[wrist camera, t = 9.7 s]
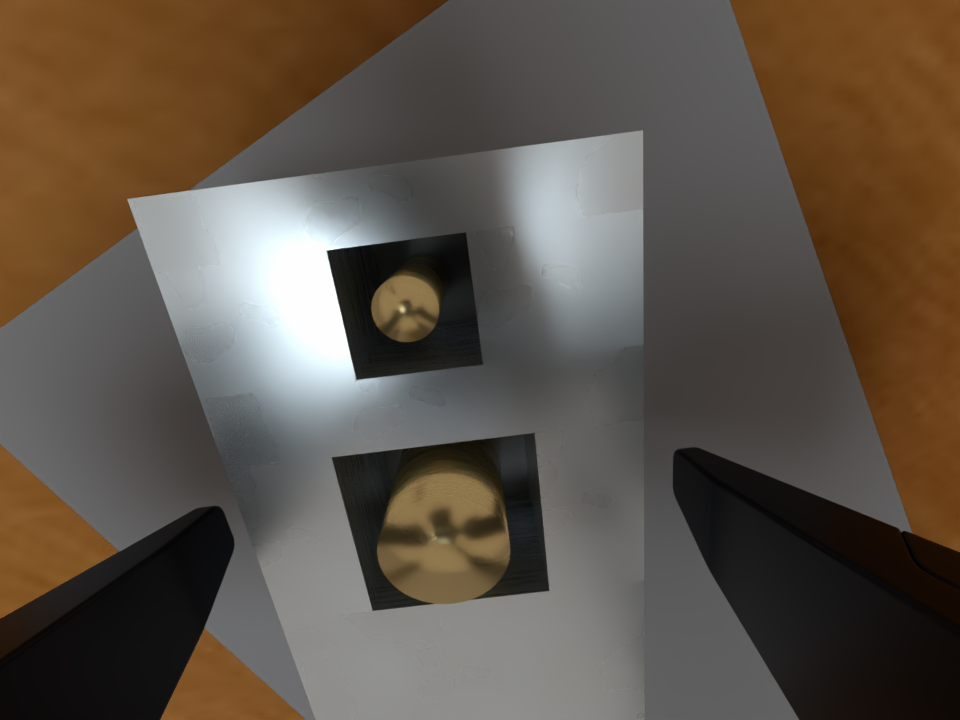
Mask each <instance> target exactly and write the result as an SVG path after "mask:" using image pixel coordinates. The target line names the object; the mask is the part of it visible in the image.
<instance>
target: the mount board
mask: <svg viewBox="0 0 960 720" xmlns="http://www.w3.org/2000/svg"><path fill="white" fill-rule="evenodd" d="M642 130H643V316H644V673H645V720H799V719H798V717H797V716H796V714H795V712H794V711H793V709H792V707H791V706H790V704H789V702H788V701H787V699H786V697H785V696H784V694H783V692H782V691H781V689H780V687H779V686H778V684H777V682H776V681H775V679H774V677H773V676H772V674H771V672H770V671H769V669H768V667H767V666H766V664H765V662H764V661H763V659H762V658H761V656H760V654H759V653H758V651H757V649H756V648H755V646H754V644H753V643H752V641H751V639H750V638H749V636H748V634H747V633H746V631H745V629H744V628H743V626H742V624H741V623H740V621H739V619H738V618H737V616H736V614H735V613H734V611H733V609H732V608H731V606H730V604H729V603H728V601H727V599H726V598H725V596H724V594H723V593H722V591H721V589H720V588H719V586H718V584H717V583H716V581H715V579H714V578H713V576H712V574H711V572H710V571H709V569H708V567H707V565H706V563H705V561H704V559H703V557H702V555H701V552H700V550H699V548H698V546H697V544H696V542H695V539H694V537H693V535H692V533H691V531H690V529H689V526H688V524H687V522H686V520H685V518H684V516H683V514H682V511H681V509H680V507H679V505H678V503H677V501H676V498H675V496H674V492H673V455H674V452H675V451H676V450H677V449H682V448H690V447H698V448H701V449H703V450H706V451H708V452H710V453H713V454H715V455H718V456H720V457H723V458H725V459H728V460H730V461H733V462H735V463H738V464H740V465H743V466H745V467H748V468H750V469H753V470H755V471H758V472H760V473H763V474H765V475H768V476H770V477H773V478H775V479H778V480H780V481H783V482H785V483H788V484H790V485H792V486H795V487H797V488H800V489H802V490H805V491H807V492H810V493H812V494H815V495H817V496H820V497H822V498H825V499H827V500H830V501H832V502H835V503H837V504H840V505H842V506H845V507H847V508H850V509H852V510H855V511H857V512H860V513H862V514H865V515H867V516H870V517H872V518H875V519H877V520H880V521H882V522H884V523H887V524H889V525H892V526H894V527H897V528H898V529H899V530H900V531H901V532H902V531H907V532H910V533H912V531H911V528H910V525H909V522H908V519H907V516H906V513H905V510H904V508H903V505H902V502H901V499H900V496H899V493H898V490H897V487H896V484H895V481H894V478H893V475H892V473H891V470H890V467H889V464H888V461H887V458H886V455H885V452H884V449H883V446H882V443H881V440H880V438H879V435H878V432H877V429H876V426H875V423H874V420H873V417H872V414H871V411H870V408H869V405H868V403H867V400H866V397H865V394H864V391H863V388H862V385H861V382H860V379H859V376H858V373H857V370H856V368H855V365H854V362H853V359H852V356H851V353H850V350H849V347H848V344H847V341H846V338H845V335H844V333H843V330H842V327H841V324H840V321H839V318H838V315H837V312H836V309H835V306H834V303H833V300H832V298H831V295H830V292H829V289H828V286H827V283H826V280H825V277H824V274H823V271H822V268H821V265H820V263H819V260H818V257H817V254H816V251H815V248H814V245H813V242H812V239H811V236H810V233H809V230H808V228H807V225H806V222H805V219H804V216H803V213H802V210H801V207H800V204H799V201H798V198H797V195H796V193H795V190H794V187H793V184H792V181H791V178H790V175H789V172H788V169H787V166H786V163H785V160H784V158H783V155H782V152H781V149H780V146H779V143H778V140H777V137H776V134H775V131H774V128H773V125H772V123H771V120H770V117H769V114H768V111H767V108H766V105H765V102H764V99H763V96H762V93H761V90H760V88H759V85H758V82H757V79H756V76H755V73H754V70H753V67H752V64H751V61H750V58H749V55H748V53H747V50H746V47H745V44H744V41H743V38H742V35H741V32H740V29H739V26H738V23H737V20H736V18H735V15H734V12H733V9H732V6H731V3H730V0H448V1H447V2H446V3H444V4H443V5H441V6H440V7H439V8H437V9H436V10H435V11H433V12H432V13H431V14H429V15H428V16H426V17H425V18H424V19H422V20H421V21H420V22H418V23H417V24H416V25H414V26H413V27H411V28H410V29H409V30H407V31H406V32H405V33H403V34H402V35H400V36H399V37H398V38H396V39H395V40H394V41H392V42H391V43H390V44H388V45H387V46H385V47H384V48H383V49H381V50H380V51H379V52H377V53H376V54H375V55H373V56H372V57H370V58H369V59H368V60H366V61H365V62H364V63H362V64H361V65H360V66H358V67H357V68H355V69H354V70H353V71H351V72H350V73H349V74H347V75H346V76H344V77H343V78H342V79H340V80H339V81H338V82H336V83H335V84H334V85H332V86H331V87H329V88H328V89H327V90H325V91H324V92H323V93H321V94H320V95H319V96H317V97H316V98H314V99H313V100H312V101H310V102H309V103H308V104H306V105H305V106H304V107H302V108H301V109H299V110H298V111H297V112H295V113H294V114H293V115H291V116H290V117H288V118H287V119H286V120H284V121H283V122H282V123H280V124H279V125H278V126H276V127H275V128H273V129H272V130H271V131H269V132H268V133H267V134H265V135H264V136H263V137H261V138H260V139H258V140H257V141H256V142H254V143H253V144H252V145H250V146H249V147H248V148H246V149H245V150H243V151H242V152H241V153H239V154H238V155H237V156H235V157H234V158H233V159H231V160H230V161H228V162H227V163H226V164H224V165H223V166H222V167H220V168H219V169H217V170H216V171H215V172H213V173H212V174H211V175H209V176H208V177H207V178H205V179H204V180H202V181H201V182H200V183H198V184H197V185H196V186H194V187H193V188H192V189H190V190H189V191H191V190H199V189H207V188H214V187H222V186H229V185H237V184H244V183H252V182H259V181H267V180H274V179H282V178H289V177H297V176H304V175H312V174H319V173H327V172H334V171H342V170H349V169H357V168H364V167H372V166H379V165H387V164H394V163H402V162H409V161H417V160H424V159H432V158H439V157H447V156H454V155H462V154H469V153H477V152H484V151H492V150H499V149H507V148H514V147H522V146H529V145H537V144H544V143H552V142H559V141H567V140H574V139H582V138H589V137H597V136H604V135H612V134H619V133H627V132H634V131H642ZM372 247H373V252H374V257H375V262H376V267H377V272H378V278H379V283H380V286H381V285H382V284H383V283H384V282H385V281H386V280H387V279H388V278H389V277H390V276H391V275H393V274H394V273H395V272H396V271H397V270H398V269H399V268H400V267H401V266H402V265H403V264H404V263H405V262H406V261H408V260H409V259H410V258H411V257H413V256H416V255H419V254H428V255H431V256H434V257H436V258H437V259H439V260H440V261H441V262H442V263H443V265H444V266H445V268H446V270H447V274H448V283H447V287H446V291H445V295H444V298H443V302H442V306H441V309H440V313H439V317H438V320H437V323H443V322H451V321H459V320H467V319H475V318H477V314H476V306H475V298H474V290H473V283H472V275H471V267H470V259H469V252H468V244H467V236H466V232H464V233H457V234H449V235H441V236H434V237H426V238H418V239H410V240H403V241H395V242H387V243H380V244H372ZM497 439H498V448H499V456H500V465H501V473H502V482H503V490H504V497H511V496H519V495H528V494H529V484H528V474H527V465H526V455H525V445H524V436H523V434H521V435H513V436H505V437H497ZM0 444H1V445H2V446H3V447H4V448H5V449H6V450H8V451H9V452H10V453H11V454H12V455H13V456H14V457H15V458H16V459H18V460H19V461H20V462H21V463H22V464H23V465H24V466H25V467H26V468H28V469H29V470H30V471H31V472H32V473H33V474H34V475H35V476H36V477H37V478H39V479H40V480H41V481H42V482H43V483H44V484H45V485H46V486H47V487H49V488H50V489H51V490H52V491H53V492H54V493H55V494H56V495H57V496H59V497H60V498H61V499H62V500H63V501H64V502H65V503H66V504H67V505H69V506H70V507H71V508H72V509H73V510H74V511H75V512H76V513H77V514H79V515H80V516H81V517H82V518H83V519H84V520H85V521H86V522H87V523H89V524H90V525H91V526H92V527H93V528H94V529H95V530H96V531H97V532H99V533H100V534H101V535H102V536H103V537H104V538H105V539H106V540H107V541H108V542H110V543H111V544H112V545H113V546H114V547H115V548H116V549H117V550H118V551H121V550H123V549H125V548H127V547H129V546H130V545H132V544H134V543H136V542H137V541H139V540H141V539H143V538H145V537H146V536H148V535H150V534H152V533H153V532H155V531H157V530H159V529H160V528H162V527H164V526H166V525H168V524H169V523H171V522H173V521H175V520H176V519H178V518H180V517H182V516H183V515H185V514H187V513H189V512H191V511H192V510H194V509H196V508H199V507H208V506H219V507H221V508H222V509H223V511H224V513H225V516H226V518H227V521H228V524H229V526H230V529H231V531H232V534H233V537H234V542H235V546H234V551H233V554H232V557H231V560H230V562H229V565H228V568H227V570H226V573H225V576H224V578H223V581H222V584H221V586H220V589H219V591H218V594H217V597H216V599H215V602H214V605H213V607H212V610H211V613H210V615H209V618H208V620H207V623H206V625H205V627H204V628H205V629H206V630H207V631H208V632H209V633H211V634H212V635H213V636H214V637H215V638H216V639H217V640H218V641H219V642H221V643H222V644H223V645H224V646H225V647H226V648H227V649H228V650H229V651H231V652H232V653H233V654H234V655H235V656H236V657H237V658H238V659H239V660H240V661H242V662H243V663H244V664H245V665H246V666H247V667H248V668H249V669H250V670H252V671H253V672H254V673H255V674H256V675H257V676H258V677H259V678H260V679H262V680H263V681H264V682H265V683H266V684H267V685H268V686H269V687H270V688H272V689H273V690H274V691H275V692H276V693H277V694H278V695H279V696H280V697H282V698H283V699H284V700H285V701H286V702H287V703H288V704H289V705H290V706H292V707H293V708H294V709H295V710H296V711H297V712H298V713H299V714H300V715H302V716H303V717H304V718H305V719H306V720H316V719H315V717H314V714H313V711H312V708H311V706H310V703H309V700H308V697H307V694H306V692H305V689H304V686H303V683H302V681H301V678H300V675H299V672H298V670H297V667H296V664H295V661H294V659H293V656H292V653H291V650H290V648H289V645H288V642H287V639H286V636H285V634H284V631H283V628H282V625H281V623H280V620H279V617H278V614H277V612H276V609H275V606H274V603H273V601H272V598H271V595H270V592H269V589H268V587H267V584H266V581H265V578H264V576H263V573H262V570H261V567H260V565H259V562H258V559H257V556H256V554H255V551H254V548H253V545H252V542H251V540H250V537H249V534H248V531H247V529H246V526H245V523H244V520H243V518H242V515H241V512H240V509H239V507H238V504H237V501H236V498H235V496H234V493H233V490H232V487H231V484H230V482H229V479H228V476H227V473H226V471H225V468H224V465H223V462H222V460H221V457H220V454H219V451H218V449H217V446H216V443H215V440H214V437H213V435H212V432H211V429H210V426H209V424H208V421H207V418H206V415H205V413H204V410H203V407H202V404H201V402H200V399H199V396H198V393H197V390H196V388H195V385H194V382H193V379H192V377H191V374H190V371H189V368H188V366H187V363H186V360H185V357H184V355H183V352H182V349H181V346H180V344H179V341H178V338H177V335H176V332H175V330H174V327H173V324H172V321H171V319H170V316H169V313H168V310H167V308H166V305H165V302H164V299H163V297H162V294H161V291H160V288H159V285H158V283H157V280H156V277H155V274H154V272H153V269H152V266H151V263H150V261H149V258H148V255H147V252H146V250H145V247H144V244H143V241H142V239H141V236H140V233H139V230H138V228H137V229H136V230H134V231H133V232H131V233H130V234H129V235H127V236H126V237H125V238H123V239H122V240H121V241H119V242H118V243H116V244H115V245H114V246H112V247H111V248H110V249H108V250H107V251H105V252H104V253H103V254H101V255H100V256H99V257H97V258H96V259H95V260H93V261H92V262H90V263H89V264H88V265H86V266H85V267H84V268H82V269H81V270H80V271H78V272H77V273H75V274H74V275H73V276H71V277H70V278H69V279H67V280H66V281H65V282H63V283H62V284H60V285H59V286H58V287H56V288H55V289H54V290H52V291H51V292H49V293H48V294H47V295H45V296H44V297H43V298H41V299H40V300H39V301H37V302H36V303H34V304H33V305H32V306H30V307H29V308H28V309H26V310H25V311H24V312H22V313H21V314H19V315H18V316H17V317H15V318H14V319H13V320H11V321H10V322H9V323H7V324H6V325H4V326H3V327H2V328H0ZM402 451H403V449H397V450H389V451H384V456H385V460H386V465H387V469H388V474H389V478H390V483H391V487H392V488H393V484H394V480H395V477H396V473H397V469H398V465H399V462H400V458H401V454H402Z"/></svg>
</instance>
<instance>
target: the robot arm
mask: <svg viewBox="0 0 960 720" xmlns="http://www.w3.org/2000/svg"><path fill="white" fill-rule="evenodd" d="M673 492H674V496H675V498H676V501H677V503H678V505H679V507H680V509H681V511H682V514H683V516H684V518H685V520H686V522H687V524H688V526H689V529H690V531H691V533H692V535H693V537H694V539H695V542H696V544H697V546H698V548H699V550H700V552H701V555H702V557H703V559H704V561H705V563H706V565H707V567H708V569H709V571H710V572H711V574H712V576H713V578H714V579H715V581H716V583H717V584H718V586H719V588H720V589H721V591H722V593H723V594H724V596H725V598H726V599H727V601H728V603H729V604H730V606H731V608H732V609H733V611H734V613H735V614H736V616H737V618H738V619H739V621H740V623H741V624H742V626H743V628H744V629H745V631H746V633H747V634H748V636H749V638H750V639H751V641H752V643H753V644H754V646H755V648H756V649H757V651H758V653H759V654H760V656H761V658H762V659H763V661H764V662H765V664H766V666H767V667H768V669H769V671H770V672H771V674H772V676H773V677H774V679H775V681H776V682H777V684H778V686H779V687H780V689H781V691H782V692H783V694H784V696H785V697H786V699H787V701H788V702H789V704H790V706H791V707H792V709H793V711H794V712H795V714H796V716H797V717H798V719H799V720H960V552H957V551H955V550H952V549H950V548H947V547H945V546H942V545H939V544H937V543H934V542H932V541H929V540H927V539H924V538H922V537H919V536H917V535H915V534H912V533H910V532H907V531H902V532H901V531H900V530H899V529H898V528H897V527H894V526H892V525H889V524H887V523H884V522H882V521H880V520H877V519H875V518H872V517H870V516H867V515H865V514H862V513H860V512H857V511H855V510H852V509H850V508H847V507H845V506H842V505H840V504H837V503H835V502H832V501H830V500H827V499H825V498H822V497H820V496H817V495H815V494H812V493H810V492H807V491H805V490H802V489H800V488H797V487H795V486H792V485H790V484H788V483H785V482H783V481H780V480H778V479H775V478H773V477H770V476H768V475H765V474H763V473H760V472H758V471H755V470H753V469H750V468H748V467H745V466H743V465H740V464H738V463H735V462H733V461H730V460H728V459H725V458H723V457H720V456H718V455H715V454H713V453H710V452H708V451H706V450H703V449H701V448H698V447H690V448H682V449H677V450H676V451H675V452H674V455H673ZM234 546H235V542H234V537H233V534H232V531H231V529H230V526H229V524H228V521H227V518H226V516H225V513H224V511H223V509H222V508H221V507H219V506H208V507H199V508H196V509H194V510H192V511H191V512H189V513H187V514H185V515H183V516H182V517H180V518H178V519H176V520H175V521H173V522H171V523H169V524H168V525H166V526H164V527H162V528H160V529H159V530H157V531H155V532H153V533H152V534H150V535H148V536H146V537H145V538H143V539H141V540H139V541H137V542H136V543H134V544H132V545H130V546H129V547H127V548H125V549H123V550H121V551H120V552H118V553H116V554H114V555H113V556H111V557H109V558H107V559H106V560H104V561H102V562H100V563H98V564H97V565H95V566H93V567H91V568H90V569H88V570H86V571H84V572H83V573H81V574H79V575H77V576H75V577H74V578H72V579H70V580H68V581H67V582H65V583H63V584H61V585H60V586H58V587H56V588H54V589H52V590H51V591H49V592H47V593H45V594H44V595H42V596H40V597H38V598H36V599H35V600H33V601H31V602H29V603H28V604H26V605H24V606H22V607H21V608H19V609H17V610H15V611H13V612H12V613H10V614H8V615H6V616H5V617H3V618H1V619H0V720H160V719H161V717H162V715H163V713H164V711H165V709H166V706H167V704H168V702H169V700H170V698H171V696H172V694H173V692H174V690H175V688H176V686H177V684H178V682H179V680H180V678H181V676H182V674H183V671H184V669H185V667H186V665H187V663H188V661H189V659H190V657H191V655H192V653H193V651H194V649H195V647H196V645H197V643H198V641H199V638H200V636H201V634H202V632H203V630H204V627H205V625H206V623H207V620H208V618H209V615H210V613H211V610H212V607H213V605H214V602H215V599H216V597H217V594H218V591H219V589H220V586H221V584H222V581H223V578H224V576H225V573H226V570H227V568H228V565H229V562H230V560H231V557H232V554H233V551H234Z"/></svg>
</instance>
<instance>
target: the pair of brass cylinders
mask: <svg viewBox="0 0 960 720" xmlns="http://www.w3.org/2000/svg"><path fill="white" fill-rule="evenodd" d="M447 283H448V274H447V270H446V268H445V266H444V265H443V263H442V262H441V261H440V260H439V259H437V258H436V257H434V256H431V255H428V254H419V255H416V256H413V257H411V258H410V259H409V260H408V261H406V262H405V263H404V264H403V265H402V266H401V267H400V268H399V269H398V270H397V271H396V272H395V273H394V274H393V275H391V276H390V277H389V278H388V279H387V280H386V281H385V282H384V283H383V284H382V285H381V286H380V287H379V288H378V289H377V291H376V292H375V294H374V296H373V300H372V305H371V310H372V316H373V319H374V321H375V323H376V325H377V327H378V328H379V329H380V331H381V332H382V333H384V334H385V335H386V336H388V337H389V338H391V339H393V340H396V341H400V342H414V341H417V340H420V339H422V338H424V337H426V336H427V335H428V334H429V333H430V332H431V331H432V330H433V329H434V327H435V325H436V323H437V320H438V317H439V313H440V309H441V306H442V302H443V298H444V295H445V291H446V287H447ZM377 556H378V561H379V564H380V567H381V569H382V571H383V573H384V575H385V576H386V578H387V579H388V580H389V581H390V582H391V583H392V584H393V586H395V587H396V588H397V589H398V590H400V591H401V592H403V593H404V594H406V595H408V596H410V597H412V598H415V599H417V600H420V601H424V602H428V603H435V604H454V603H460V602H464V601H468V600H471V599H474V598H476V597H478V596H480V595H482V594H484V593H485V592H487V591H488V590H490V589H491V588H492V587H493V586H494V585H496V584H497V582H498V581H499V580H500V579H501V578H502V576H503V574H504V573H505V571H506V569H507V567H508V563H509V560H510V541H509V532H508V524H507V515H506V507H505V499H504V490H503V482H502V473H501V465H500V456H499V448H498V439H497V437H496V438H488V439H480V440H472V441H463V442H455V443H447V444H438V445H430V446H422V447H413V448H405V449H403V451H402V454H401V458H400V462H399V465H398V469H397V473H396V477H395V480H394V484H393V488H392V491H391V495H390V499H389V502H388V506H387V510H386V514H385V517H384V521H383V525H382V528H381V532H380V536H379V539H378V545H377Z"/></svg>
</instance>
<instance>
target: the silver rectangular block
mask: <svg viewBox="0 0 960 720" xmlns="http://www.w3.org/2000/svg"><path fill="white" fill-rule="evenodd" d="M127 200H128V203H129V205H130V208H131V211H132V214H133V216H134V219H135V222H136V225H137V227H138V230H139V233H140V236H141V239H142V241H143V244H144V247H145V250H146V252H147V255H148V258H149V261H150V263H151V266H152V269H153V272H154V274H155V277H156V280H157V283H158V285H159V288H160V291H161V294H162V297H163V299H164V302H165V305H166V308H167V310H168V313H169V316H170V319H171V321H172V324H173V327H174V330H175V332H176V335H177V338H178V341H179V344H180V346H181V349H182V352H183V355H184V357H185V360H186V363H187V366H188V368H189V371H190V374H191V377H192V379H193V382H194V385H195V388H196V390H197V393H198V396H199V399H200V402H201V404H202V407H203V410H204V413H205V415H206V418H207V421H208V424H209V426H210V429H211V432H212V435H213V437H214V440H215V443H216V446H217V449H218V451H219V454H220V457H221V460H222V462H223V465H224V468H225V471H226V473H227V476H228V479H229V482H230V484H231V487H232V490H233V493H234V496H235V498H236V501H237V504H238V507H239V509H240V512H241V515H242V518H243V520H244V523H245V526H246V529H247V531H248V534H249V537H250V540H251V542H252V545H253V548H254V551H255V554H256V556H257V559H258V562H259V565H260V567H261V570H262V573H263V576H264V578H265V581H266V584H267V587H268V589H269V592H270V595H271V598H272V601H273V603H274V606H275V609H276V612H277V614H278V617H279V620H280V623H281V625H282V628H283V631H284V634H285V636H286V639H287V642H288V645H289V648H290V650H291V653H292V656H293V659H294V661H295V664H296V667H297V670H298V672H299V675H300V678H301V681H302V683H303V686H304V689H305V692H306V694H307V697H308V700H309V703H310V706H311V708H312V711H313V714H314V717H315V719H316V720H645V673H644V316H643V130H642V131H634V132H627V133H619V134H612V135H604V136H597V137H589V138H582V139H574V140H567V141H559V142H552V143H544V144H537V145H529V146H522V147H514V148H507V149H499V150H492V151H484V152H477V153H469V154H462V155H454V156H447V157H439V158H432V159H424V160H417V161H409V162H402V163H394V164H387V165H379V166H372V167H364V168H357V169H349V170H342V171H334V172H327V173H319V174H312V175H304V176H297V177H289V178H282V179H274V180H267V181H259V182H252V183H244V184H237V185H229V186H222V187H214V188H207V189H199V190H191V191H184V192H176V193H169V194H161V195H154V196H146V197H139V198H131V199H127ZM464 232H466V236H467V244H468V252H469V259H470V267H471V275H472V283H473V290H474V298H475V306H476V314H477V318H475V319H467V320H459V321H451V322H443V323H436V325H435V327H434V329H433V330H432V331H431V332H430V333H429V334H428V335H427V336H426V337H424V338H422V339H420V340H417V341H414V342H400V341H396V340H393V339H391V338H389V337H388V336H386V335H385V334H384V333H382V332H381V331H380V329H379V328H378V327H377V325H376V323H375V321H374V319H373V316H372V310H371V305H372V300H373V296H374V294H375V292H376V291H377V289H378V288H379V287H380V283H379V278H378V272H377V267H376V262H375V257H374V252H373V247H372V244H380V243H387V242H395V241H403V240H410V239H418V238H426V237H434V236H441V235H449V234H457V233H464ZM521 434H523V436H524V445H525V455H526V465H527V474H528V484H529V494H528V495H519V496H511V497H504V499H505V507H506V515H507V524H508V532H509V541H510V560H509V563H508V567H507V569H506V571H505V573H504V574H503V576H502V578H501V579H500V580H499V581H498V582H497V584H496V585H494V586H493V587H492V588H491V589H490V590H488V591H487V592H485V593H484V594H482V595H480V596H478V597H476V598H474V599H471V600H468V601H464V602H460V603H454V604H435V603H428V602H424V601H420V600H417V599H415V598H412V597H410V596H408V595H406V594H404V593H403V592H401V591H400V590H398V589H397V588H396V587H395V586H393V584H392V583H391V582H390V581H389V580H388V579H387V578H386V576H385V575H384V573H383V571H382V569H381V567H380V564H379V561H378V556H377V545H378V539H379V536H380V532H381V528H382V525H383V521H384V517H385V514H386V510H387V506H388V502H389V499H390V495H391V491H392V487H391V483H390V478H389V474H388V469H387V465H386V460H385V456H384V451H389V450H397V449H405V448H413V447H422V446H430V445H438V444H447V443H455V442H463V441H472V440H480V439H488V438H496V437H505V436H513V435H521Z"/></svg>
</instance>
